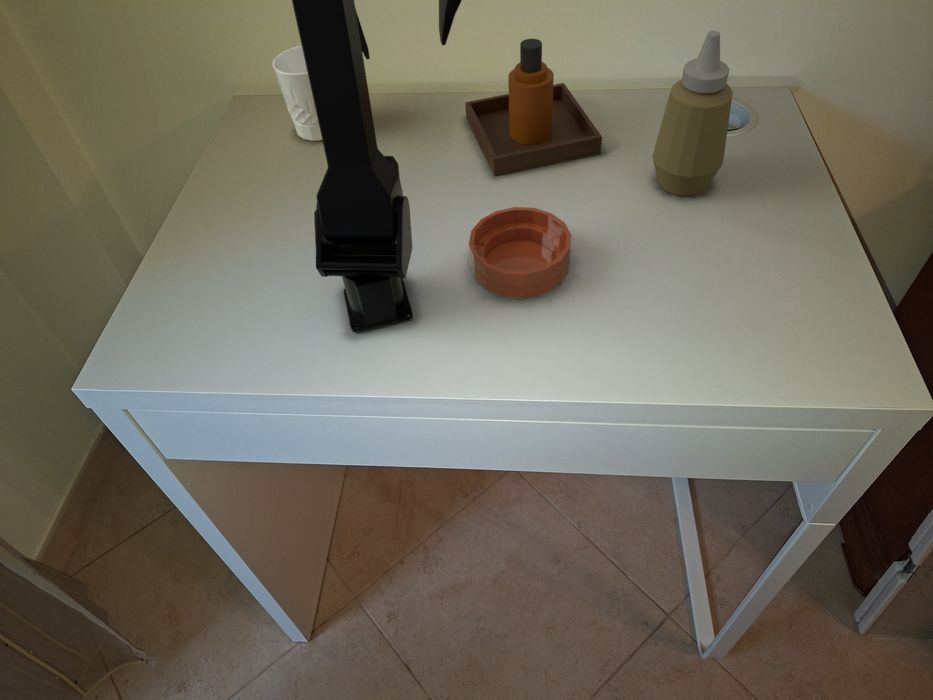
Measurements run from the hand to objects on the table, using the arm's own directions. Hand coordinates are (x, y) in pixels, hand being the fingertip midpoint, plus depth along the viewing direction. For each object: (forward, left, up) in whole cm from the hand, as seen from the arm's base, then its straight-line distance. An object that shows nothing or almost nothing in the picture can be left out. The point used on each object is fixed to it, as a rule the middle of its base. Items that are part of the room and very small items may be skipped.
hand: (405, 50), depth 81 cm
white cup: (+9, +12, -13) cm, 20 cm away
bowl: (-27, -6, -13) cm, 30 cm away
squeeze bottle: (-19, -29, -13) cm, 37 cm away
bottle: (-3, -15, -12) cm, 20 cm away
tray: (-3, -15, -13) cm, 20 cm away
